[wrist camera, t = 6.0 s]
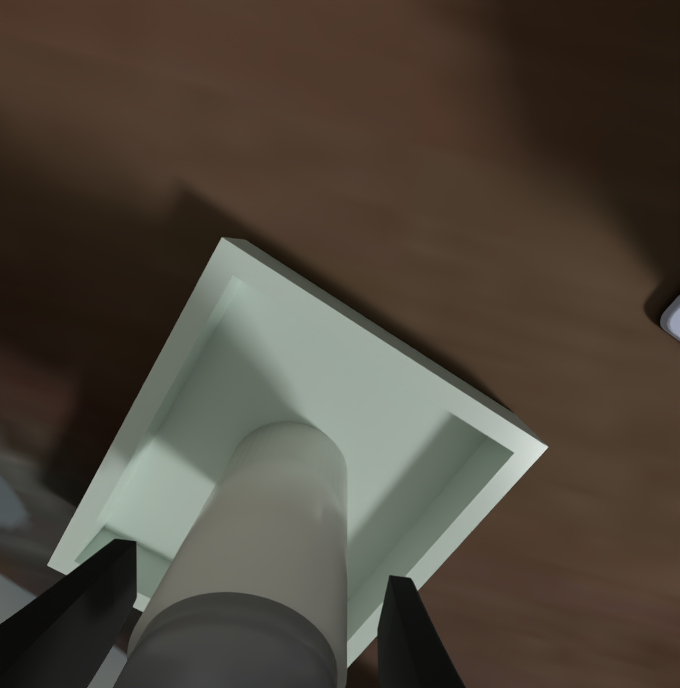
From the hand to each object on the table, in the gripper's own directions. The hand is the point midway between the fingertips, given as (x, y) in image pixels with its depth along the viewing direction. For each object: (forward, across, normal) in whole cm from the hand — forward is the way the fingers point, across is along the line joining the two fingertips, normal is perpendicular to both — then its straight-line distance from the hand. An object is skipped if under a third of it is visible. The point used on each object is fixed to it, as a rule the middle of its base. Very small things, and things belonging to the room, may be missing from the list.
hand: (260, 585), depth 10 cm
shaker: (+5, 0, 0) cm, 5 cm away
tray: (+6, 0, 0) cm, 6 cm away
